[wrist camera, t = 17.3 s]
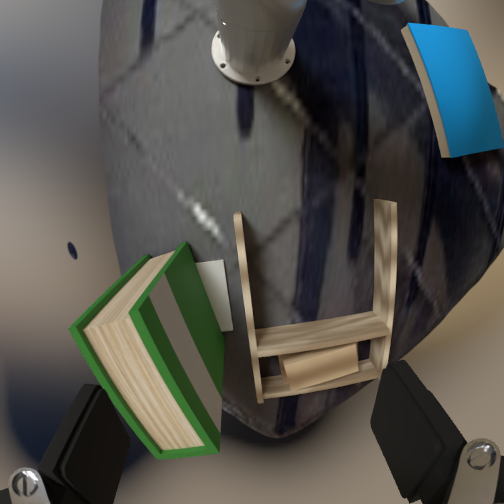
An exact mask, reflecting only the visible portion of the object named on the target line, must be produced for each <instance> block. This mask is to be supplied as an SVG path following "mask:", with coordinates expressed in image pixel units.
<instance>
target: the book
mask: <svg viewBox="0 0 504 504" xmlns="http://www.w3.org/2000/svg"><path fill="white" fill-rule="evenodd" d="M401 32H402V34H403V37H404V39H405V41H406V44H407V46H408V48H409V51H410V53H411V56H412V58H413V61H414V64H415V66H416V69H417V72H418V75H419V77H420V80H421V83H422V86H423V89H424V92H425V95H426V99H427V102H428V105H429V109H430V112H431V116H432V119H433V123H434V127H435V131H436V135H437V139H438V143H439V148H440V152H441V157H450V158H453V157H458V156H463V155H468V154H473V153H478V152H483V151H488V150H493V149H499V148H504V145H503V140H502V135H501V130H500V126H499V122H498V118H497V114H496V110H495V106H494V102H493V99H492V95H491V92H490V89H489V85H488V82H487V79H486V76H485V74H484V70H483V68H482V65H481V62H480V60H479V57H478V55H477V52H476V50H475V47H474V44H473V42H472V40H471V37H470V35H469V33H468V31H467V30H463V29H457V28H450V27H443V26H435V25H426V24H414V23H408V24H407V26H406V27H404V28H403V29H402V30H401Z"/></svg>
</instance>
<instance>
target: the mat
mask: <svg viewBox="0 0 504 504" xmlns="http://www.w3.org/2000/svg"><path fill="white" fill-rule="evenodd" d="M195 264H196V267H197V269H198V272H199V275H200V277H201V280H202V283H203V285H204V288H205V290H206V293H207V296H208V298H209V301H210V303H211V306H212V308H213V311H214V313H215V316H216V319H217V321H218V323H219V326H220V328H221V331H233V323H232V317H231V310H230V303H229V297H228V290H227V283H226V276H225V269H224V261H223V260H217V261H208V262H199V263H195Z"/></svg>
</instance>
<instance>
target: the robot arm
mask: <svg viewBox="0 0 504 504" xmlns="http://www.w3.org/2000/svg"><path fill="white" fill-rule="evenodd" d="M366 1H370V2H374V3H379V4H386V5H392V4H397V3H400V2H402V1H404V0H366ZM215 2H216V11H217V19H218V26H219V30H218V31H217V33H216V34H215V36H214V38H213V41H212V45H211V54H212V58H213V61H214V64H215V66H216V67H217V69H218V70H219V71H220V72H221V73H222V74H223V75H224V76H225V77H227V78H228V79H230V80H232V81H234V82H236V83H240V84H243V85H251V86H255V85H264V84H269V83H271V82H274V81H276V80H278V79H279V78H281V77H282V76H283V75H284V74H286V73H287V71H288V70H289V69H290V67H291V65H292V64H293V61H294V58H295V44H294V41H293V39H292V37H293V34H294V32H295V30H296V27H297V25H298V23H299V21H300V18H301V16H302V14H303V11H304V9H305V6H306V3H307V0H215ZM219 37H220V38H219ZM285 62H288V64H286V63H285ZM222 67H225V68H222ZM257 79H258V80H259V81H258V82H257V81H256V80H257ZM371 428H372V431H373V433H374V435H375V437H376V439H377V442H378V444H379V446H380V448H381V450H382V453H383V455H384V457H385V459H386V461H387V464H388V466H389V468H390V471H391V473H392V475H393V478H394V480H395V482H396V484H397V486H398V489H399V491H400V494H401V496H402V497H403V498H404V499H405V498H407V499H408V501H409V503H412V502H415V501H417V500H420V499H421V501H422V503H423V504H504V456H501V455H500V450H499V448H498V446H497V445H496V444H495V443H494V442H492V441H491V440H488V439H484V438H479V439H474V440H472V441H470V442H469V443H467V441H466V440H465V439H464V437H463V436H462V434H461V433H460V431H459V430H458V428H457V427H456V426H455V424H454V423H453V421H452V420H451V419H450V417H449V416H448V414H447V413H446V412H445V410H444V409H443V408H442V406H441V405H440V403H439V402H438V401H437V399H436V398H435V397H434V395H433V394H432V393H431V392H430V391H429V390H427V389H426V387H425V386H424V385H423V383H422V382H421V381H420V380H419V378H418V377H417V375H416V374H415V373H414V372H413V370H412V369H411V367H410V366H409V365H408V363H407V362H406V361H405V360H400V361H396V362H392V363H388V364H387V366H386V368H384V369H383V370H382V374H381V378H380V384H379V388H378V392H377V396H376V401H375V405H374V409H373V413H372V416H371ZM129 448H130V438H129V436H128V434H127V432H126V430H125V428H124V426H123V424H122V422H121V421H120V419H119V417H118V414H117V413H116V410H115V408H114V406H113V404H112V402H111V400H110V398H109V396H108V393H107V391H106V390H105V389H102V387H101V386H100V385H94V384H84V385H83V386H82V388H81V389H80V391H79V393H78V395H77V396H76V398H75V400H74V401H73V403H72V405H71V407H70V408H69V410H68V412H67V413H66V415H65V417H64V419H63V421H62V422H61V424H60V426H59V428H58V430H57V431H56V433H55V435H54V437H53V439H52V441H51V443H50V444H49V446H48V448H47V450H46V452H45V454H44V456H43V458H42V460H41V462H40V464H39V466H38V468H39V470H38V472H37V471H36V470H33V469H32V468H21V469H18V470H16V471H15V472H14V473H13V474H12V475H11V477H10V478H9V482H8V487H9V488H7V489H4V490H1V491H0V504H113V502H114V499H115V495H116V492H117V488H118V484H119V481H120V478H121V474H122V471H123V467H124V464H125V461H126V457H127V454H128V451H129Z"/></svg>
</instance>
